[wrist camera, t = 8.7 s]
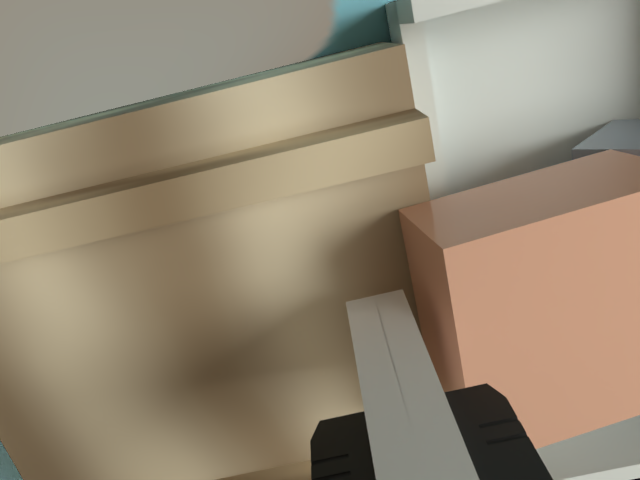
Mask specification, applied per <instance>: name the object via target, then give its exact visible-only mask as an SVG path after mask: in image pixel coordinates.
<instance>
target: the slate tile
mask: <svg viewBox="0 0 640 480" xmlns="http://www.w3.org/2000/svg"><path fill="white" fill-rule="evenodd" d="M609 149H612V150H616V151H620V152H624V153H628V154H632V155H636V156H640V119H623V120H613V121H611V122H610V123H608V124H607V125H605V126H604V127H603V128H601V129H600V130H598V131H597V132H595V133H594V134H593V135H591V136H590V137H588V138H587V139H585V140H584V141H583V142H581V143H580V144H578V145H577V146H575V147H574V148H573V149H571V153H572V160H574V159H578V158H581V157H585V156H588V155H592V154H595V153H599V152H602V151H606V150H609Z"/></svg>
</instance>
